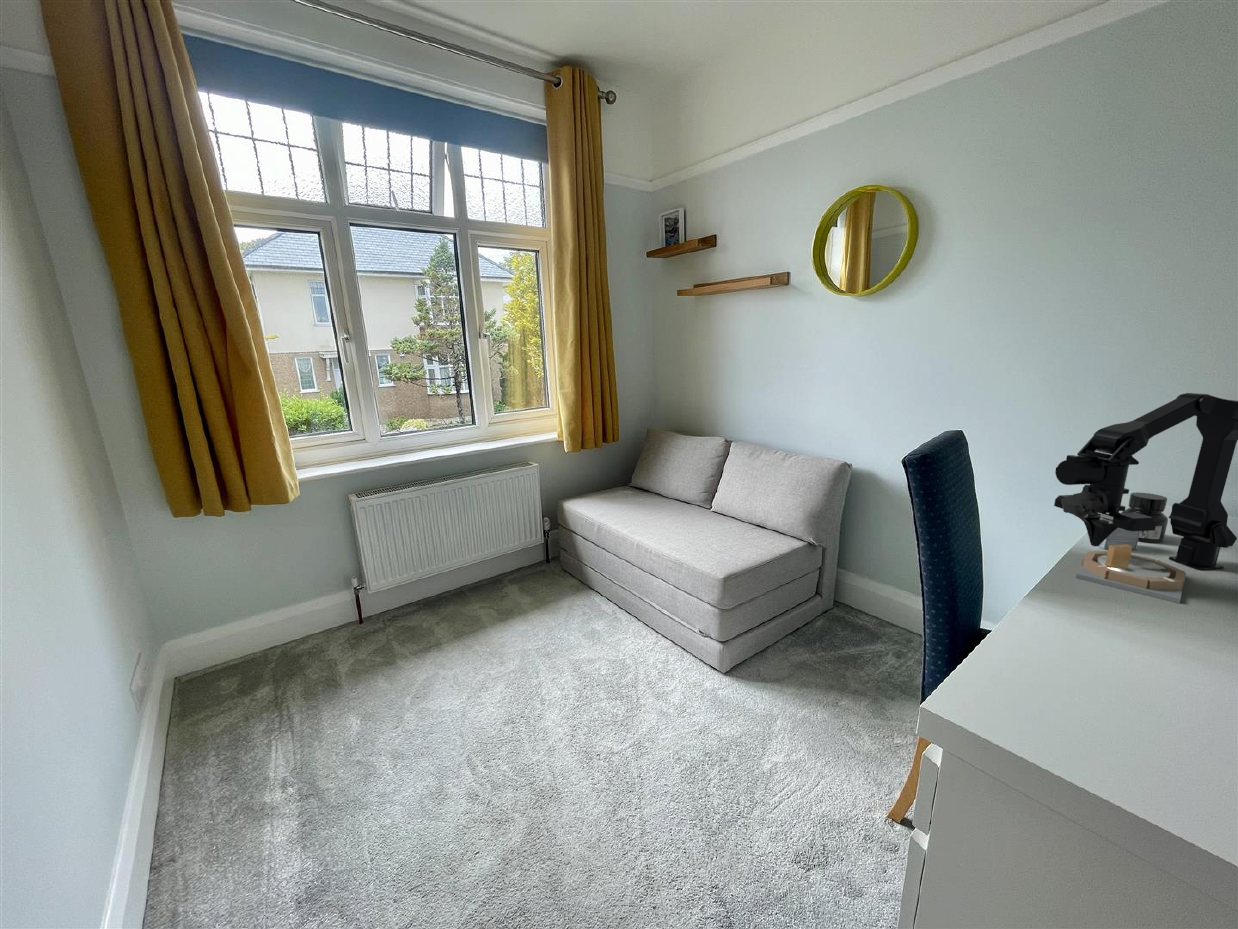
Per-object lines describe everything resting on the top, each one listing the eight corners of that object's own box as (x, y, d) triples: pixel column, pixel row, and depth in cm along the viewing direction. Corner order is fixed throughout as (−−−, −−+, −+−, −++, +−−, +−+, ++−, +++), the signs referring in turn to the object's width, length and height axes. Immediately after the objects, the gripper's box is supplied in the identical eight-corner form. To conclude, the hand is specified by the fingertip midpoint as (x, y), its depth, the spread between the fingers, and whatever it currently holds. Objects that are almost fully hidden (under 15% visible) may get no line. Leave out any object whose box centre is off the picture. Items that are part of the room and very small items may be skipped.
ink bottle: (1108, 534, 138) (1117, 493, 135) (1123, 529, 141) (1132, 489, 138) (1156, 546, 129) (1166, 503, 126) (1171, 540, 132) (1181, 498, 130)
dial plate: (1089, 556, 124) (1092, 544, 124) (1184, 576, 112) (1187, 564, 111) (1076, 577, 113) (1078, 565, 113) (1179, 603, 101) (1182, 589, 100)
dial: (1128, 560, 118) (1134, 534, 117) (1184, 582, 107) (1191, 554, 105) (1081, 562, 118) (1087, 536, 116) (1133, 585, 107) (1139, 556, 105)
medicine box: (1121, 543, 131) (1128, 512, 130) (1136, 550, 127) (1144, 518, 125) (1089, 543, 132) (1095, 512, 130) (1103, 549, 128) (1110, 518, 126)
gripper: (1038, 474, 122) (1028, 533, 125) (1115, 496, 104) (1101, 564, 107) (1081, 472, 122) (1070, 531, 126) (1165, 493, 104) (1150, 561, 107)
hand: (1094, 545), depth 116 cm, fingers closed
